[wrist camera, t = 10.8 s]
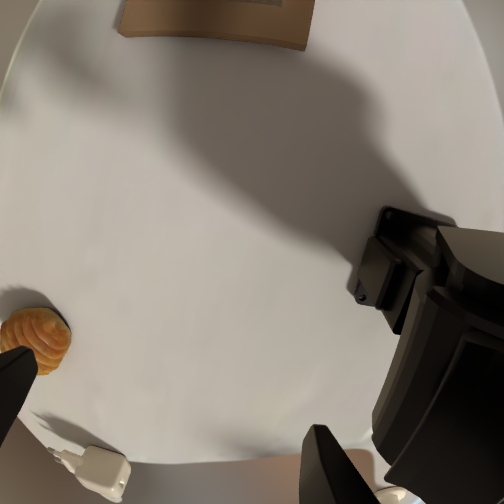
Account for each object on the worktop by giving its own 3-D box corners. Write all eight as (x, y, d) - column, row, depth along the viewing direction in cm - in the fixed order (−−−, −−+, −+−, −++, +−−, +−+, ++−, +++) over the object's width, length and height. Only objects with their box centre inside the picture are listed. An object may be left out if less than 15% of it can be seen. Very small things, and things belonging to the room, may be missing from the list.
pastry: (43, 283, 21) (16, 304, 18) (91, 345, 23) (71, 372, 20) (7, 320, 24) (-15, 339, 20) (46, 369, 25) (28, 392, 22)
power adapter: (67, 446, 31) (51, 474, 26) (54, 427, 29) (36, 456, 24) (135, 469, 31) (122, 503, 25) (126, 452, 29) (111, 488, 23)
